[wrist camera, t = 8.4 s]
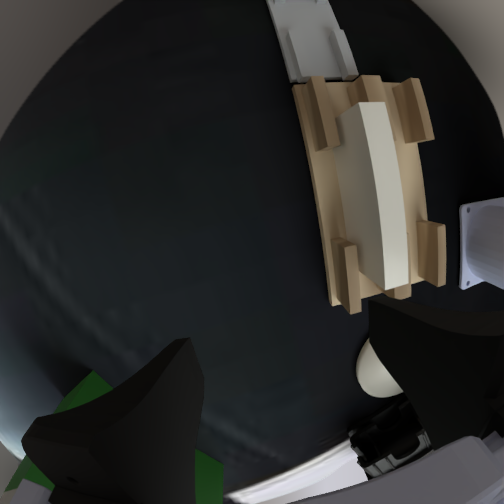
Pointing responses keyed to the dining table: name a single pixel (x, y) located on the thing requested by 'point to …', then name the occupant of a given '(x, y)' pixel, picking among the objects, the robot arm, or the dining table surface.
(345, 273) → the dish rack
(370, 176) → the white curved panel
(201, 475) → the hardback book
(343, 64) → the plate stand
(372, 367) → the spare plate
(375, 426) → the end cap
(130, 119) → the dining table surface
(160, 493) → the robot arm
